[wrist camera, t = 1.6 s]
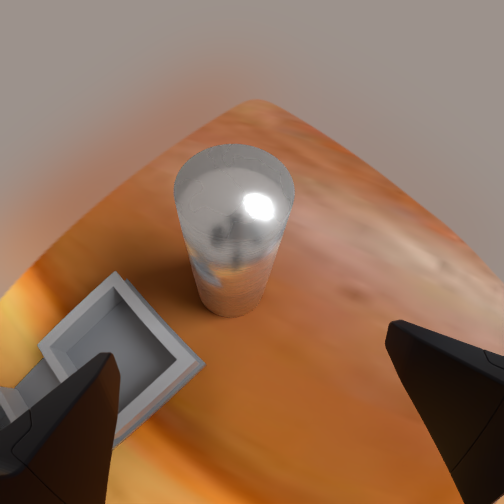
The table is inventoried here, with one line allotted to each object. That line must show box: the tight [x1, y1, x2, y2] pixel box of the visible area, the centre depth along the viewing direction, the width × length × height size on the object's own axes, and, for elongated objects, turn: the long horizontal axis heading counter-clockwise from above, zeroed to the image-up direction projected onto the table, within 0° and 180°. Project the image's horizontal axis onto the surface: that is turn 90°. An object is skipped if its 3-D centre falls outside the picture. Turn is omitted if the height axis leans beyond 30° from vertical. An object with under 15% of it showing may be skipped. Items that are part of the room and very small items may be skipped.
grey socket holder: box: [0, 270, 206, 450], centre depth 16 cm, size 22×9×4 cm, turn 137°
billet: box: [174, 144, 295, 318], centre depth 18 cm, size 5×5×12 cm
